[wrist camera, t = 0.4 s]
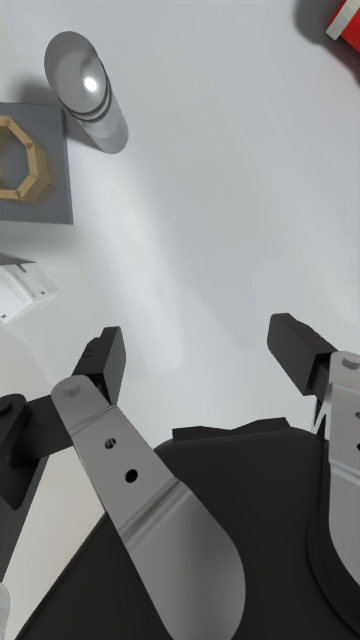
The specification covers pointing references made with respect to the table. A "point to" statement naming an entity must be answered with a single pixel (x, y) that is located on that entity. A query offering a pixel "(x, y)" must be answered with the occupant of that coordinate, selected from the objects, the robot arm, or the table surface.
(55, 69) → the piston
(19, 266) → the skincare box
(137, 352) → the table surface
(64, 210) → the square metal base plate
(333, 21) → the toy hammer
